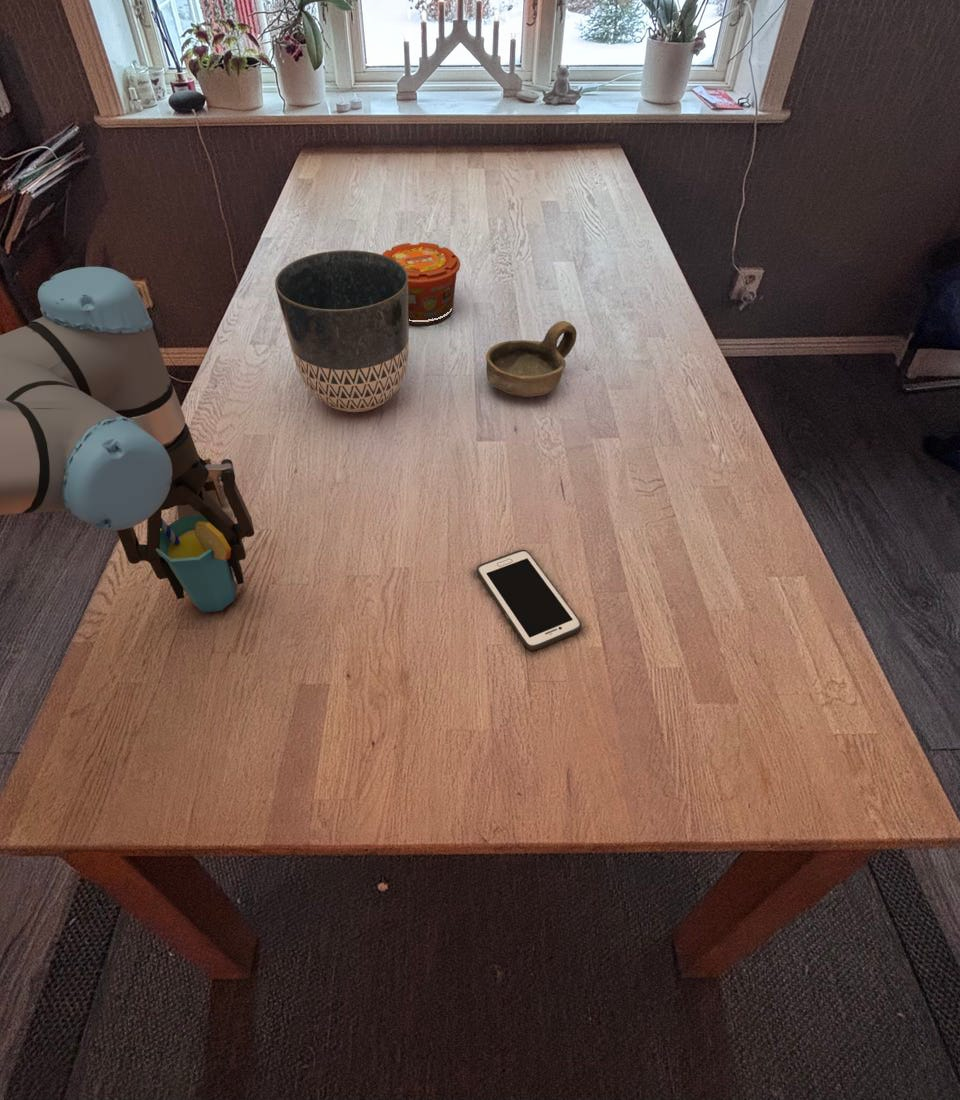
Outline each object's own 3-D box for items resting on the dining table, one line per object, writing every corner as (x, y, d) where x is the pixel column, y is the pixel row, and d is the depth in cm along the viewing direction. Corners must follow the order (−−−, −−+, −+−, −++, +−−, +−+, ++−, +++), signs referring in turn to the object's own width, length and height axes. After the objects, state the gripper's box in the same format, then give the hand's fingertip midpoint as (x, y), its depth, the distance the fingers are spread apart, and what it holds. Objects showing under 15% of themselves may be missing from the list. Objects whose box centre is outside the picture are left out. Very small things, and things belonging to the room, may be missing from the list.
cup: (140, 605, 83) (92, 518, 72) (176, 560, 89) (136, 472, 78) (243, 631, 81) (209, 544, 70) (273, 583, 86) (246, 496, 75)
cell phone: (525, 552, 92) (525, 547, 91) (583, 630, 83) (584, 626, 83) (474, 570, 90) (474, 565, 89) (529, 653, 81) (529, 649, 80)
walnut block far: (186, 514, 96) (175, 488, 92) (183, 492, 99) (173, 465, 95) (222, 506, 97) (213, 480, 94) (219, 484, 100) (209, 458, 97)
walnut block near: (190, 548, 92) (178, 522, 88) (187, 524, 95) (176, 497, 91) (228, 539, 93) (218, 513, 89) (224, 515, 96) (214, 489, 92)
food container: (412, 339, 130) (409, 285, 122) (366, 307, 138) (360, 254, 130) (476, 314, 137) (477, 261, 129) (428, 285, 145) (426, 233, 137)
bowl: (468, 380, 121) (468, 328, 113) (547, 353, 127) (552, 303, 120) (512, 419, 113) (515, 366, 106) (593, 388, 120) (602, 337, 112)
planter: (403, 440, 109) (394, 315, 93) (285, 429, 110) (255, 304, 94) (424, 373, 122) (418, 254, 106) (318, 365, 123) (297, 245, 107)
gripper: (242, 393, 72) (284, 543, 88) (41, 429, 67) (126, 581, 84) (252, 434, 67) (294, 585, 84) (36, 476, 62) (127, 627, 79)
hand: (210, 583), depth 84 cm, fingers closed on cup, 6 cm apart
